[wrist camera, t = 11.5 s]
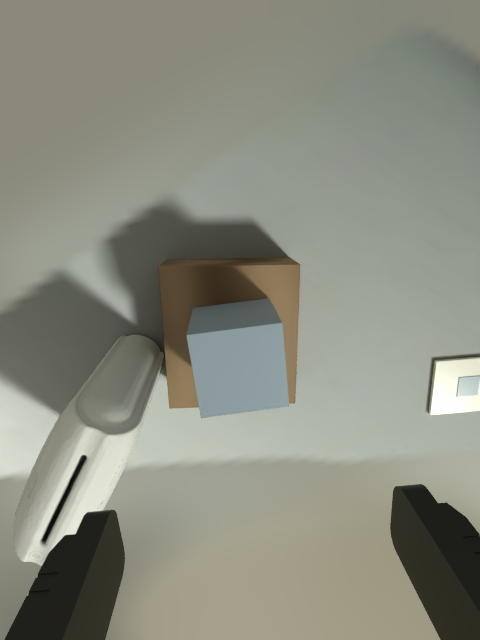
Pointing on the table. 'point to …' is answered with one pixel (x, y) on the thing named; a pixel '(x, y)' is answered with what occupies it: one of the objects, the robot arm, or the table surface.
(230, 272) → the base brick
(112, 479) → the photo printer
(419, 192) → the table surface
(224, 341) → the top brick
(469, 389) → the page
